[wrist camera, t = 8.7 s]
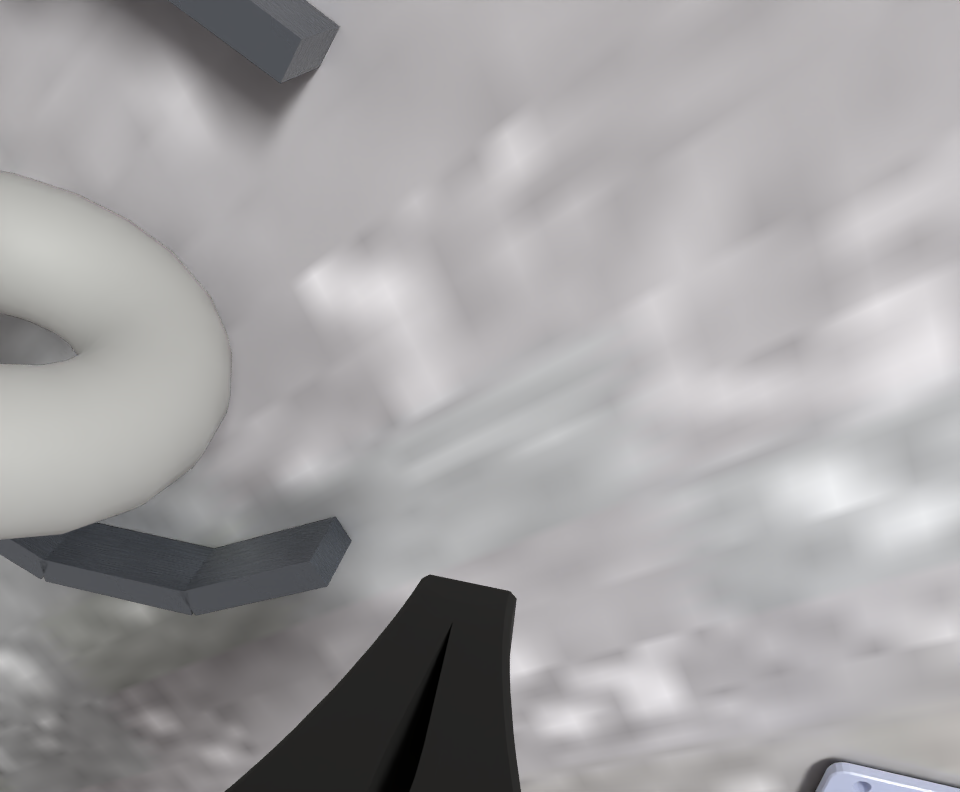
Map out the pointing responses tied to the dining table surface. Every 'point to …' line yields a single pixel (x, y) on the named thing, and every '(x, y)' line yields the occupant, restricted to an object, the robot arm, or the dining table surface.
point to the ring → (170, 563)
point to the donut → (100, 363)
